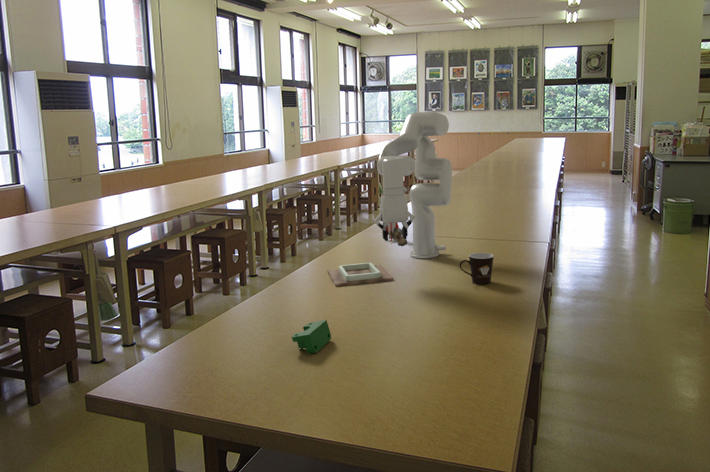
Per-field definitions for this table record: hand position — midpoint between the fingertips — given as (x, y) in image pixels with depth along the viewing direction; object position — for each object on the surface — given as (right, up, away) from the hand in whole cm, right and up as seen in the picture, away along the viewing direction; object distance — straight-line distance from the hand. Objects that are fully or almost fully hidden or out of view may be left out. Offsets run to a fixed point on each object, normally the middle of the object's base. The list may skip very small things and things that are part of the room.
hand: (395, 239), depth 210 cm
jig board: (-13, -15, +9) cm, 22 cm away
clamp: (-27, -29, -56) cm, 69 cm away
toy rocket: (+4, -1, +69) cm, 69 cm away
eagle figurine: (+1, -2, -2) cm, 3 cm away
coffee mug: (+29, -16, -6) cm, 34 cm away
